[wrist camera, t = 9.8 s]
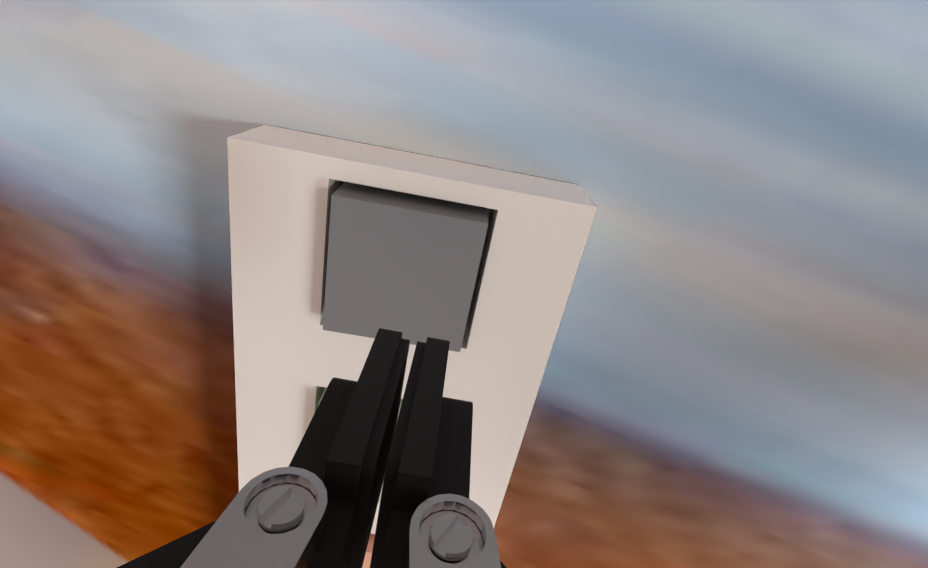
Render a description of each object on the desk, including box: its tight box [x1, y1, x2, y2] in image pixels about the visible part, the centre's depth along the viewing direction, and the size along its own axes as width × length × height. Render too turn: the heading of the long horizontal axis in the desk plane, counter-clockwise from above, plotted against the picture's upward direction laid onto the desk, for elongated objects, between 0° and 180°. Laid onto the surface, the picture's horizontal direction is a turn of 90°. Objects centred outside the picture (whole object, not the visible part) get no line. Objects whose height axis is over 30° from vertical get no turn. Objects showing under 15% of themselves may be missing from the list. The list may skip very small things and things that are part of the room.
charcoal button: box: [323, 182, 488, 352], centre depth 17 cm, size 5×5×3 cm
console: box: [227, 125, 598, 534], centre depth 22 cm, size 12×24×3 cm, turn 169°
